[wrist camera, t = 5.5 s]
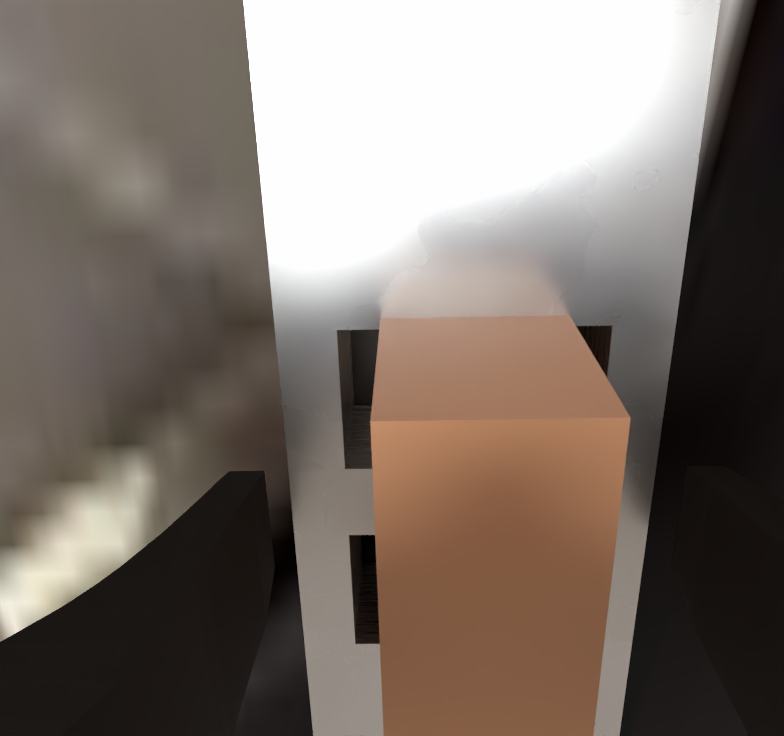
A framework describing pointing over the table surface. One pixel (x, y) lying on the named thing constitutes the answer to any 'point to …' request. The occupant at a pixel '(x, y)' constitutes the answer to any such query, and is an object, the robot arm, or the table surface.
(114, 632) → the robot arm
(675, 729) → the table surface
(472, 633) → the orange block
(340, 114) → the rail
